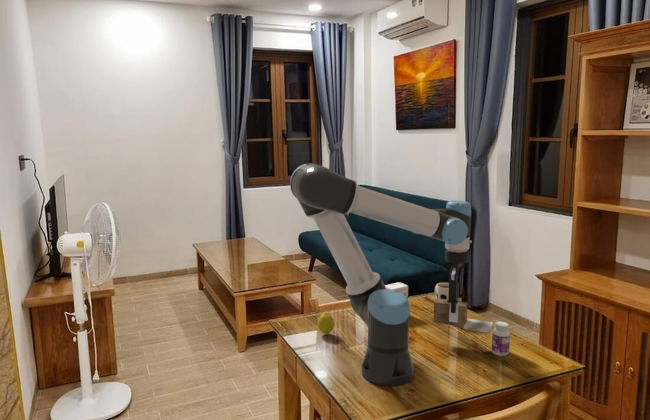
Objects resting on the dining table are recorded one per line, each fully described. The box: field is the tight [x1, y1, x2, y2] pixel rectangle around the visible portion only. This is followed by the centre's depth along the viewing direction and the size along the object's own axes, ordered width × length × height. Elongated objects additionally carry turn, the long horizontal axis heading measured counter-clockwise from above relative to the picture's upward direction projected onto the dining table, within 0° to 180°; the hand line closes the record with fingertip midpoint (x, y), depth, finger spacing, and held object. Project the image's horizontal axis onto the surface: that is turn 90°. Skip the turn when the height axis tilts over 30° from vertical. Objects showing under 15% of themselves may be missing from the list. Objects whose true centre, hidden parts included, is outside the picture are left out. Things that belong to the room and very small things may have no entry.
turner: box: [433, 298, 494, 334], centre depth 161 cm, size 18×7×7 cm, turn 65°
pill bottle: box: [491, 321, 511, 357], centre depth 157 cm, size 5×5×10 cm
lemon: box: [317, 312, 335, 336], centre depth 171 cm, size 6×6×8 cm
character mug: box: [434, 282, 449, 300], centre depth 185 cm, size 11×7×13 cm, turn 32°
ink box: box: [384, 281, 409, 300], centre depth 189 cm, size 8×5×12 cm, turn 123°
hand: (454, 319), depth 162 cm, fingers closed on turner, 4 cm apart
